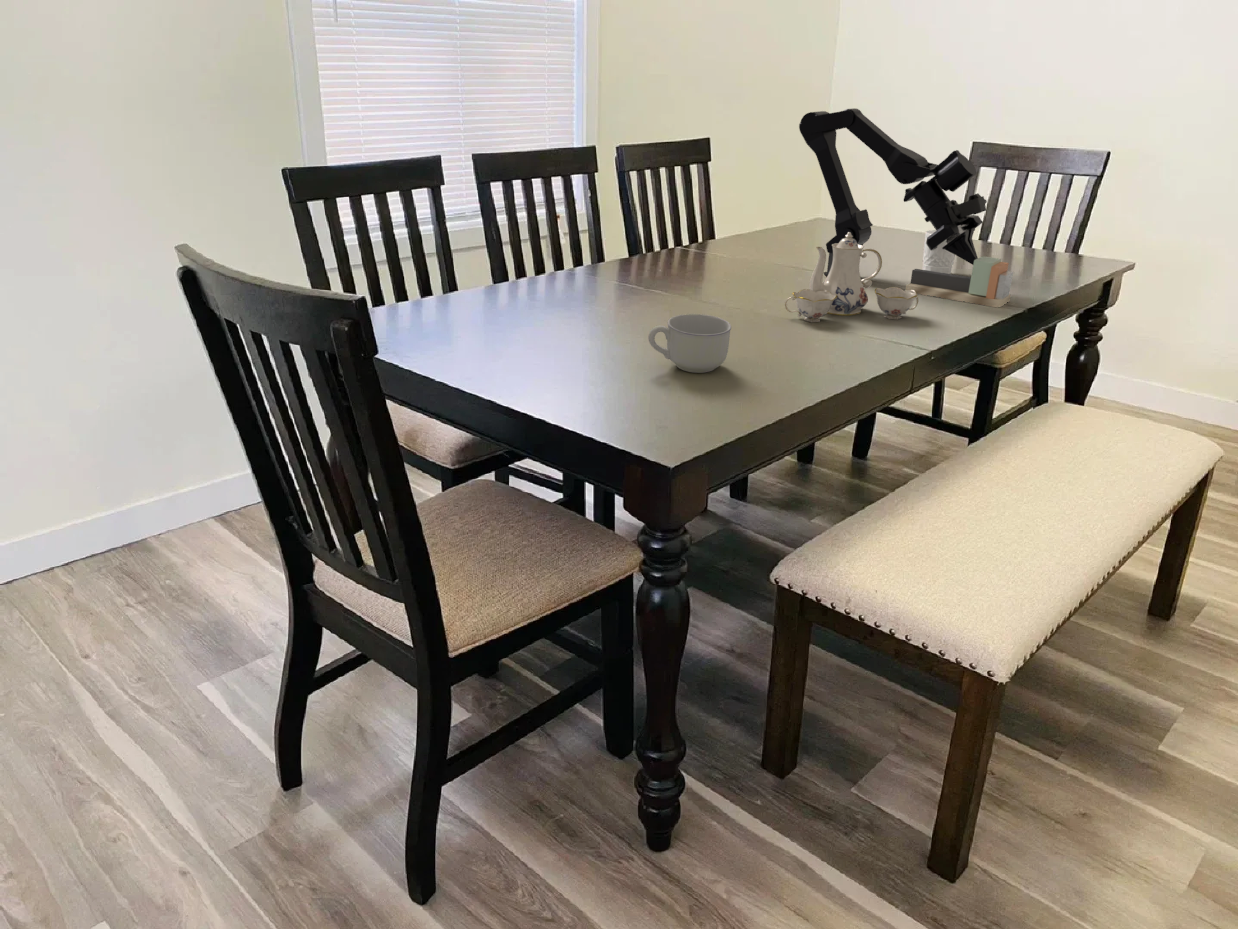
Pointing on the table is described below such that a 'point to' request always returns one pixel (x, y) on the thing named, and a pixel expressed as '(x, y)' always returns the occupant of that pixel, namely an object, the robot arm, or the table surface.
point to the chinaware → (847, 286)
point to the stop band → (995, 278)
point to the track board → (957, 295)
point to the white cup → (937, 257)
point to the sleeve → (981, 275)
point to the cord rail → (940, 280)
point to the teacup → (694, 341)
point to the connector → (1004, 285)
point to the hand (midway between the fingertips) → (976, 263)
